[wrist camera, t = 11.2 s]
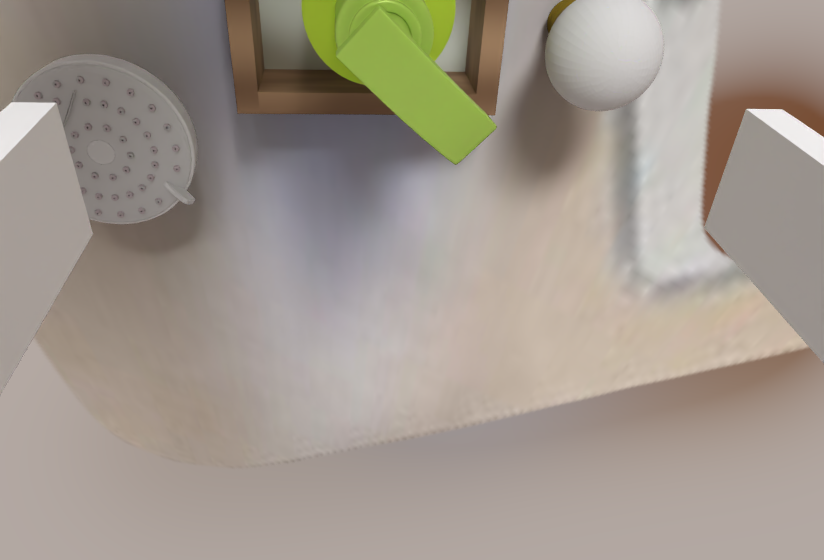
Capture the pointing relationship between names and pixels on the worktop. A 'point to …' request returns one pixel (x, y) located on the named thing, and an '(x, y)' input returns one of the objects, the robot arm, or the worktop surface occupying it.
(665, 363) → the worktop surface
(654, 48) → the light bulb
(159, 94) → the showerhead
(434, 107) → the soap dispenser
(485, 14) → the wooden box
